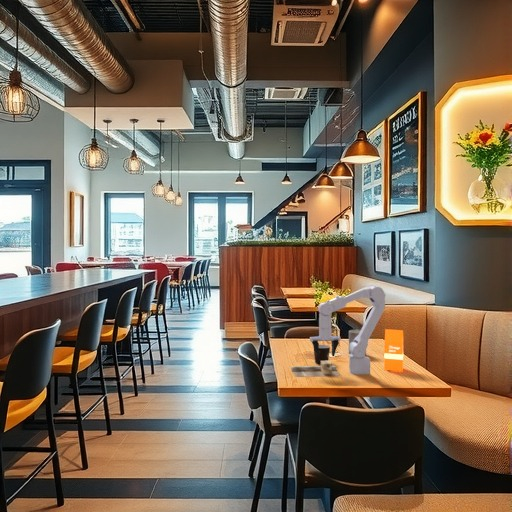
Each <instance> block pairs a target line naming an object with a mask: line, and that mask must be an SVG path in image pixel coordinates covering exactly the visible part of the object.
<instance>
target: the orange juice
mask: <svg viewBox="0 0 512 512" xmlns="http://www.w3.org/2000/svg"><path fill="white" fill-rule="evenodd" d="M383 356H384V363H383V364H384V366H383V367H384V368H383V369H384V371H387V370H391V371H390V372H398V371H399V373H401V372H402V373H403V370H404V330H401V329H389V328H388V329H386V328H385V330H384V355H383Z"/></svg>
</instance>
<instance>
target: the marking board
mask: <svg viewBox="0 0 512 512" xmlns="http://www.w3.org/2000/svg"><path fill="white" fill-rule="evenodd" d="M290 370H291V372H292V374H293V376H294V377H295V378H309V377H311V378H315V377H316V378H317V377H320V378H321V377H342V375H341V373H340V371H338V370H337V366H336V365H332V374H323V373H322V372H321V365H313V366H311V365H308V366H305V365H304V366H302V365H301V366H291V368H290Z"/></svg>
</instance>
